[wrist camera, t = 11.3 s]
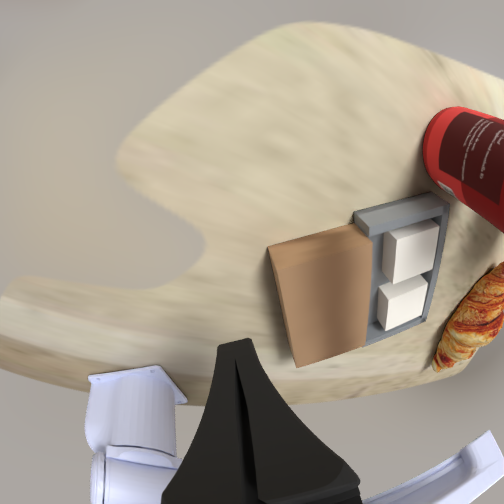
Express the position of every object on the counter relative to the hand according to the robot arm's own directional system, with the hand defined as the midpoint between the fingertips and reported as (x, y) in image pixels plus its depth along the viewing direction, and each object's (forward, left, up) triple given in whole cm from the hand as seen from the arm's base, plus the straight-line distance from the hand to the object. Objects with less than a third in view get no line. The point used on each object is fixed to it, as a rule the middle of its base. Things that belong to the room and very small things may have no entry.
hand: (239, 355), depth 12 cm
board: (+6, -8, -10) cm, 15 cm away
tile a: (+15, -11, -8) cm, 20 cm away
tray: (+14, -8, -10) cm, 19 cm away
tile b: (+15, -5, -8) cm, 17 cm away
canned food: (+20, +3, -11) cm, 23 cm away
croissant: (+29, -22, -11) cm, 38 cm away
